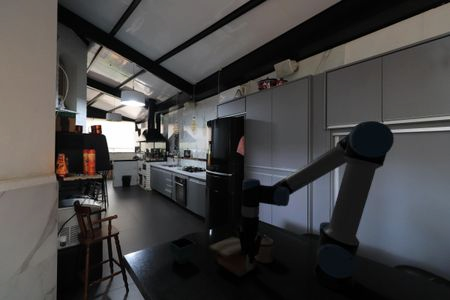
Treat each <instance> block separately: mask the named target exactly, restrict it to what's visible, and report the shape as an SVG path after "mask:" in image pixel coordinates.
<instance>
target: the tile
mask: <svg viewBox="0 0 450 300" xmlns="http://www.w3.org/2000/svg"><path fill="white" fill-rule="evenodd" d="M217 264H219V265H220V266H222V267H223V268H225V269H227V270H228V271H229V272H230V273H233V274H234V275H235V276H237V277H239V278H240V277H242V276H244V275H246V274H247V273H249V272H251V271H252V270H254V269H255V267H256V262H255V260H254V262H253V263H252V269H251V270H250V271H247V270H246V261H245V256H243V255H242V254H240V253H238V254H236V255H234V256H232V257H230V258H228V259H227V258H225V257H224V256H222V255H220V256H218V262H217Z"/></svg>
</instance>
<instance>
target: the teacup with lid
mask: <svg viewBox="0 0 450 300" xmlns="http://www.w3.org/2000/svg"><path fill="white" fill-rule="evenodd" d="M263 235H264V237H263V238H262V240H261V244H260V248H259V252H258V255H256V256H254V260H256V261H257V262H259V263H260V264H270V263H272V262H273V260H274V244H275V242H274V240H273V239H272V238H271V237H268V236H267V235H266V234H263ZM256 239H257V238H256ZM256 239H255V241H256Z"/></svg>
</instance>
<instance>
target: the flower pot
mask: <svg viewBox="0 0 450 300" xmlns="http://www.w3.org/2000/svg"><path fill="white" fill-rule="evenodd" d="M195 246H196V242H195V241H193V240H191V239H189V238H187V237H186V236H184V237H180V238H178V239H174V240H172V241H170V242H169V247H170V254H171V257H172V259H173V260H174V262H175V263H177V264H179V265H180V266H181V265H184V264H186V263H188V262H189V261H191V259H192V258H193V256H194V252H195V248H196V247H195Z"/></svg>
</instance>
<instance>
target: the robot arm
mask: <svg viewBox="0 0 450 300" xmlns="http://www.w3.org/2000/svg"><path fill="white" fill-rule="evenodd" d="M394 139H395V138H394V134H393V132H392V130H391V128H390V127H389V126H387V125H386V124H385V123H382V122H380V121H376V120H375V121H374V120H369V121H363V122H360V123H358V124H356V125H355V126H354V127H352V129H351V131H350V132H348V134H347V135H346V136H344V137H343V138H341V139H340V140H339V141H337V142H336V145H335V146H334V147H333V148H331V149H329V150H328V151H326V152H325V153H323V154H321V155H320V156H318V157H317V158H315V159H313V160H312V161H310V162H308V163H307V164H305V165H304V166H302V167H300V168H298V169H297V170H295V171H294V172H292V173H291V174H289V175H287V176H286V177H284V178H283V179H281V180H280V181H277V182H276V183H274V184H273V185H265V184H261V180H259V179H257V178H244V179H243V180H242V189H241V192H242V194H241V220H240V221H241V226H239V227H237V230H236V231H237V233H238V239H240V245H241V251H244V253H245V261H246V270H247V271H249V272H251V271H252V270H253V269H252V263H253V262H254V261H255V256H256V255H258V252H259V248H260V244H261V240H262V238H263V237H264V235H265V234H261V233H260V229H259V225H260V204H266V205H272V206H277V207H287V206H288V205H289V202H290V196H291V195H292V194H294V193H295V192H298V191H299V190H301V189H302V188H303V189H304V187H306V186H308V185H309V184H312V183H314V182H315V181H316V180H318V179H320V178H321V177H323V176H325V175H328V174H329V173H331V172H332V171H334V170H336V169H337V168H340V167H341V166H343V165H345V164H346V165H345V168H344V171H343V175H342V179H341V182H340V186H339V190H338V193H337V197H336V200H335V203H334V206H333V211H332V214H331V218H330V221H329V222H327V221H326V222H325V221H324V222H321V223H320V224H319V229H318V230H319V236H318V244H317V250H316V253H315V255H316V256H315V257H316V260H317V261H316V264H315V266H314V268H313V276H314V279H315V280H316V281H317V282H318V284H319V283H320V284H321V285H323V286H324V287H327V288H328V289H330V290H333V291H338V292H339V291H340V292H349V291H352V290H354V289H355V287H356V285H355V284H356V283H355V282H356V281H355V280H356V278H355V276H354V273H355V270H356V266H357V265H356V264H357V263H356V255H357V254H358V253H357V252H358V249H359V246H360V241H359V239H358V237H357V234H358V229H359V226H360V224H361V220H362V216H363V213H364V211H365V206H366V203H367V200H368V196H369V193H370V191H371V187H372V183H373V180H374V178H375V174H376V170H377V169H379V168H381V167H383V166H384V163H385V161H386V160H385V159H386V156H387V154H388V152H389V151H390V150H391V149H392V147H393V145H394ZM256 238H257V239H256ZM255 240H256V241H255ZM251 269H252V270H251ZM250 270H251V271H250Z"/></svg>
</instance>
